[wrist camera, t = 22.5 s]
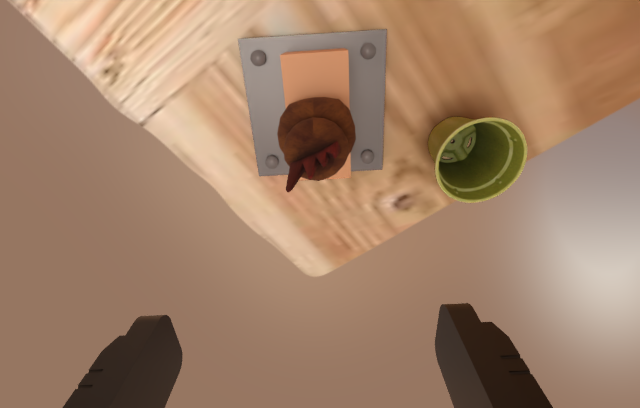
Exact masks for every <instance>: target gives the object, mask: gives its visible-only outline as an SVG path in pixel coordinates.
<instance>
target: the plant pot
mask: <svg viewBox="0 0 640 408" xmlns="http://www.w3.org/2000/svg"><path fill="white" fill-rule="evenodd" d="M470 137H471V138H472V141H471V145H470V147H467V145H468V143H469V140H470ZM451 140H455V142H454V143H451ZM428 149H429V152H430V154H431V156H432V158H433V161H434V163H435V176H436V180H437V182H438V184H439V186H440V188H441V189H442V190H443V192H444V193H445V194H447V195H448V196H449V197H451V198H453V199H455V200H457V201H461V202H467V203H474V202H481V201H485V200H489V199H492V198H494V197H496V196H498V195H499V194H501V193H503V192H504V191H506V190H507V189H508V188H509V187H510V186H511V185H512V184H513V183H514V182H515V181H516V180H517V178H518V177H519V176H520V174H521V172H522V170H523V168H524V165H525V163H526V159H527V143H526V139H525V137H524V135H523V133H522V131H521V130H520V129H519V128H518V127H517V126H516V125H515V124H513V123H512V122H510V121H508V120H505V119H501V118H496V117H486V118H480V119H475V120H473V119H468V118H464V117H450V118H447V119H445V120H443V121H442V122H440V123H439V124H438V125H437V126H435V127H434V129H433V130H432V132H431V133H430V136H429V139H428ZM443 156H444V157H452V159H449V160H445V159H443V158H442V157H443Z"/></svg>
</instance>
